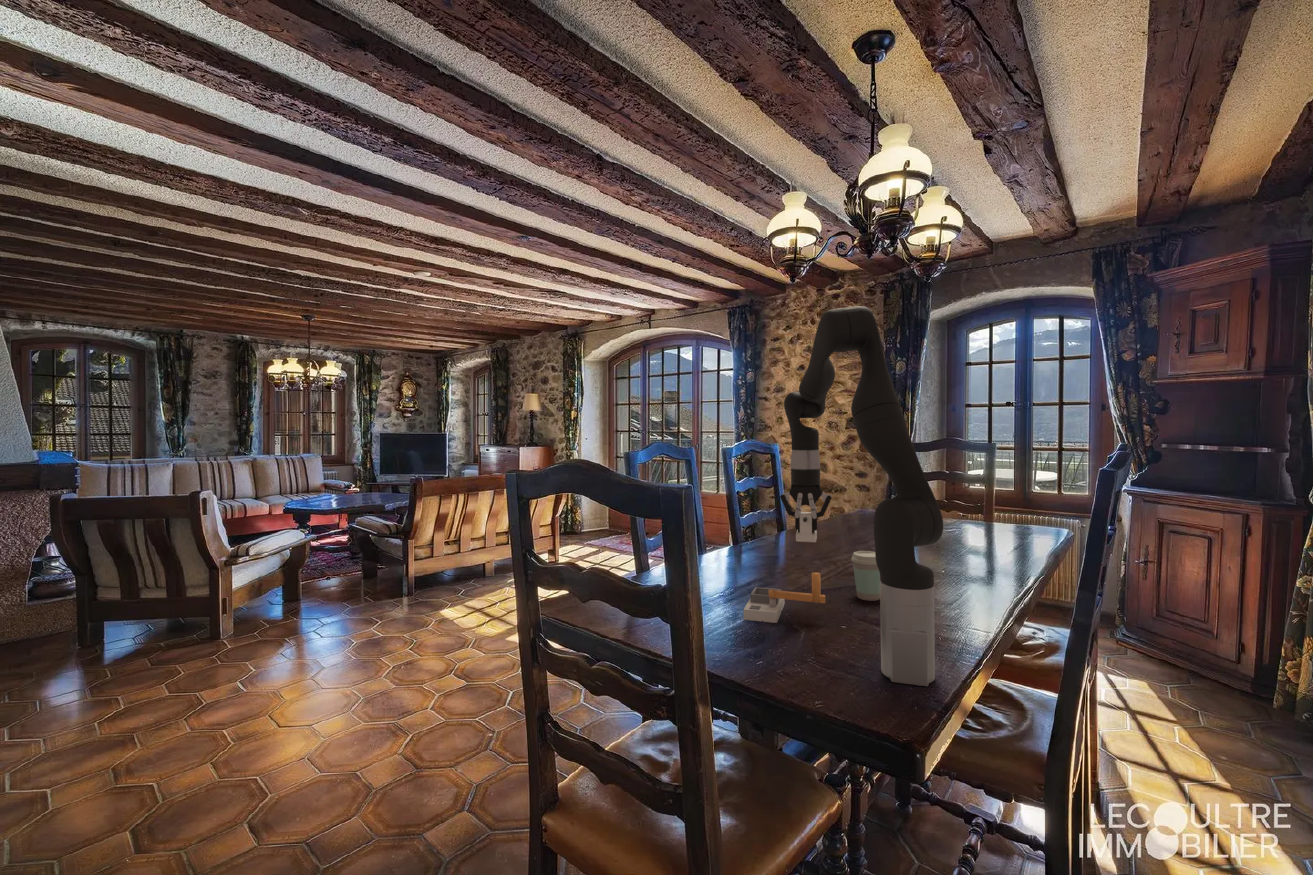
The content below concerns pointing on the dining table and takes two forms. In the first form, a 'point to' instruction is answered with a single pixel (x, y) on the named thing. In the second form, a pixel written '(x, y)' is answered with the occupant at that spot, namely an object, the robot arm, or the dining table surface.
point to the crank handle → (813, 597)
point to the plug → (806, 528)
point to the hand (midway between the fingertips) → (806, 531)
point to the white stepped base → (763, 606)
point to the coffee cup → (866, 575)
